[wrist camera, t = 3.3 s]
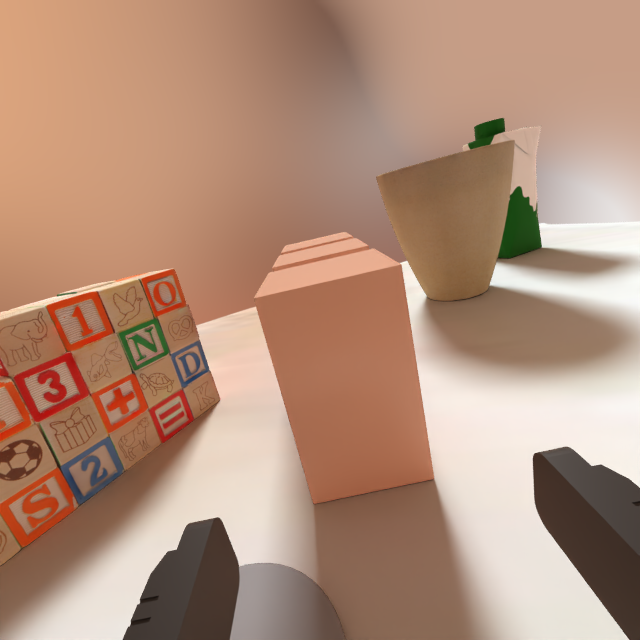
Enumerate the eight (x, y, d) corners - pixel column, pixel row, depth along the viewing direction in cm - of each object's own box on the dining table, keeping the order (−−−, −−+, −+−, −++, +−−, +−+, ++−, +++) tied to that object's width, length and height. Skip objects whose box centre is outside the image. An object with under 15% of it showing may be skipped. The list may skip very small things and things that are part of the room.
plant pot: (427, 277, 55) (413, 169, 50) (536, 273, 45) (532, 137, 40) (374, 310, 45) (350, 180, 40) (497, 315, 35) (485, 142, 30)
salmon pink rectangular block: (313, 504, 18) (253, 298, 15) (311, 430, 24) (269, 272, 20) (434, 478, 18) (401, 264, 14) (402, 411, 24) (373, 248, 20)
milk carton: (466, 257, 61) (454, 133, 55) (505, 245, 64) (498, 125, 58) (510, 260, 53) (501, 115, 47) (552, 245, 56) (549, 106, 50)
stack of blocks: (-148, 684, 14) (-395, 436, 11) (-163, 618, 18) (-355, 412, 14) (222, 399, 31) (175, 264, 28) (178, 393, 35) (131, 272, 31)
